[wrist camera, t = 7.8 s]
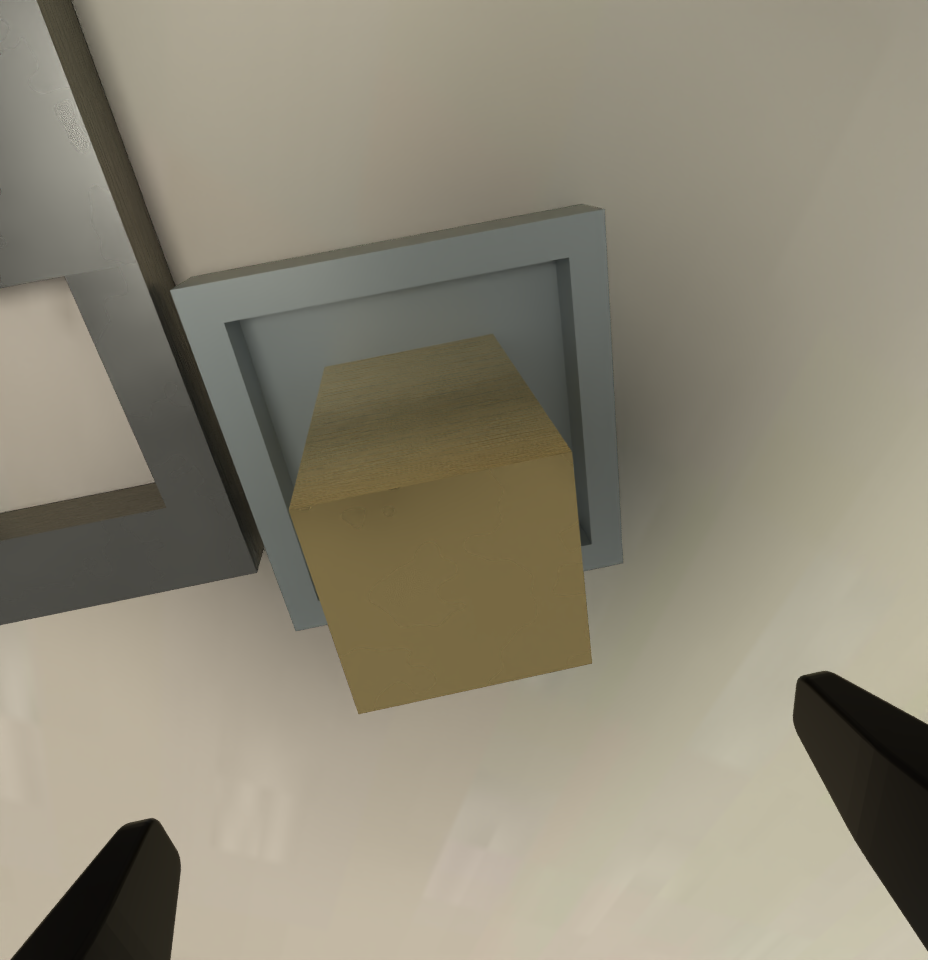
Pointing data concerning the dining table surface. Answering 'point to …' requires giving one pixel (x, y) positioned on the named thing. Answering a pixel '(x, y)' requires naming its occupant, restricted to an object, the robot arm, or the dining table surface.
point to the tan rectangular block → (440, 525)
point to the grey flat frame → (106, 342)
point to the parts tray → (406, 326)
